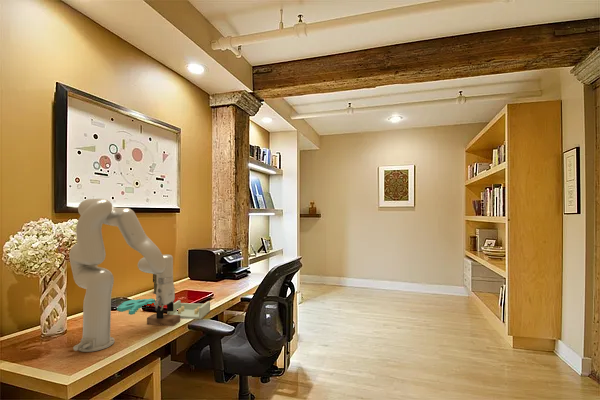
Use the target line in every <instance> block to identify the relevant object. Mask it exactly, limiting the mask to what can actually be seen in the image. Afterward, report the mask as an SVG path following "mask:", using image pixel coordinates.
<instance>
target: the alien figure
mask: <svg viewBox="0 0 600 400" xmlns="http://www.w3.org/2000/svg"><path fill="white" fill-rule="evenodd" d="M122 302H123V303H122ZM122 302H121V303H120V304H119V305H118V306H117V308H116V310H117V311H118V312H121V313H123V312H126V311H128V315H130V316H131V315H135V314H136V313H137V311H139V309H141V308H143V307H142V306H144V305H147V304H152V303H155V302H156V298H155V299H154V298H148V299H147V298H142V299H141V298H139V299H130V300H127V301H122Z"/></svg>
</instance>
